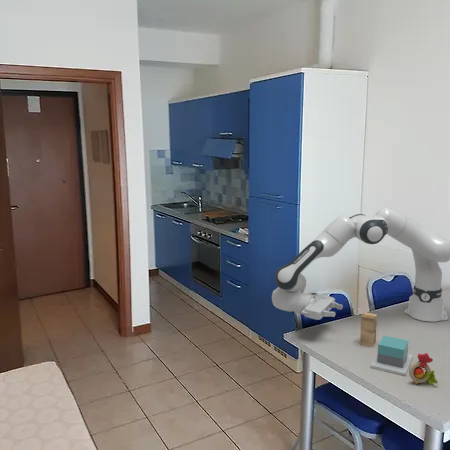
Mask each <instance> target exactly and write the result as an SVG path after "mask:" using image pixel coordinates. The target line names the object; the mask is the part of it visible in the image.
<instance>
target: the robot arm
mask: <svg viewBox="0 0 450 450" xmlns="http://www.w3.org/2000/svg"><path fill="white" fill-rule="evenodd" d="M386 235H388V236H389V237H391V238H393V239H394V240H396V241H397V242H399V243H400V244H402V245H404V246H406V247H408V248H409V249H411V251H412V255H413V261H414V267H415V268H414V269H415V279H414V280H415V281H414V285H413V289H412V290H413V291H412V293H413V294H412V295H410V296H409V299H408V301H409V302H408V307H407V308H406V309H405V310H403V311H404V314H406V315H409V317H411V318H413V319H416V320H418V321H422V322H423V321H424V322H440V321H448V320H449V316H448V313H447V310H446V307H445V306H444V305H445V301H444V299H443V297H442V294H443V290H442V279H443V271H442V268H441V267H440V265H439V263H447V262H449V261H450V241H449V240H447V238H445V237H443V236H441V235H440V234H438V233H436V232H435V231H432V230H431V229H429V228H427V227H425V226H424V225H421V224H419V223H418V222H416V221H415V220H413V219H412V218H409V217H408V216H406V215H405V214H403V213H402V212H399V211H397V210H395V209H392V208H389V207H382V208H380V209H378V210H377V212H376V213H375V215H373V216H370V215H369V216H368V215H366V214H364V213H363V214H362V213H357V214H354V215H352V216H350V217H349V216H347V215H346V216H345V215H340V216H338V217H336V218H335V219H334V220H333V221H331V222H330V223H329V224H327V226H325V228H324V230H322V231H321V233H320V234H318V236H317V237H316V238H315V239H313V240H312V241H311V242H310V243H309V244H307V245H306V246H305V247H304V248H303V249H302V250H301V251H300V252H298V254H297V255H296V256H295V257H294V258H293V259H292V260H290V262H288V263H286V264H284V265H283V266H280V267H279V268H278V269H277V270H276V272H275V274H274V282H275V285H276V286H277V287H276V288H275V289H274V290H272V293H271V303H272V305H273V306H274V307H275V308H276V309H279V310H281V311H285V312H289V313H290V312H294V313H297V314H299V315H304V317H306V318H309V319H311V320H316V321H318V320H322V318H325V317H331V318H332V317H333V318H335V316H337V315H336V314H337V312H336V311H333V310H332V309H333V308H335V309H337V310H343V307H344V306H343V304H340V303H337V302H336V298H334V297H332V296H329V295H324V294H319V293H318V292H311V293H304V291H305V289H306V285H307V279H306V277H305V276H304V275H303V274H302V272H303V271H304V270H305V269H306V268H307V267H308V266H309V265H310V264H312V263H313V262H314V261H315V260H317V259H320V258H331V257H333V256H335V255H336V254H337V253H338V252H340V251H341V250H342V249H343V247H344V246H345V245H346V244H347V243H348V242H349V241H350V240H351V239H354V238H356V239H358V240H359V241H361V242H363V243H365V244H368V245H376V244H379V243H380V242H381V241H382V240H383V239H384V238H385V236H386ZM331 310H332V311H331Z"/></svg>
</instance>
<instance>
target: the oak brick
mask: <svg viewBox="0 0 450 450" xmlns="http://www.w3.org/2000/svg"><path fill="white" fill-rule="evenodd" d="M377 322H378V315H377V314H376V313H371V312H364V313H362V315H361V316H360V339H359V345H362V346H366V347H371V348H373V347H374V345H375V344H376V343H377V341H376V339H377V324H378V323H377Z"/></svg>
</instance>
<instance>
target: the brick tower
mask: <svg viewBox="0 0 450 450" xmlns="http://www.w3.org/2000/svg"><path fill="white" fill-rule="evenodd" d="M413 359H414V354H410V353H409V340H408V339H403V338H399V337H398V338H397V337H392V336H388V335H383V336H382V337H381V339H380V340H379V342H378V344H377V354H376V355H375V357H374V359H373V361H372V362H371V364H370V369H374V370H378V371H383V372H387V373H392V374H396V375H400V376H403V377H405V376H406V375H407V373H408V371H409V368H410V366H411V363H412V360H413Z"/></svg>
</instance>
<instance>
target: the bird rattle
mask: <svg viewBox="0 0 450 450" xmlns="http://www.w3.org/2000/svg"><path fill="white" fill-rule="evenodd" d="M417 359H418V360H417V361H415V362H413V363H412V364H410V366H409V368H408V375H409V377H410V378H411V380H412V381H413V383H414V384H416V385H417V384H420V383H421V384H422V383H425V382H426V381H428V384H429V385H431V386H432V385H434V384H438V382H439V381H438V380H437V379H436V376H435V375H436V374H435V370H431V367H430V366H429V365H428V364H430V363H432V362H433V361H434V360H433V358H431V357H430V355H429V354H428V353H418V354H417Z"/></svg>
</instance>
